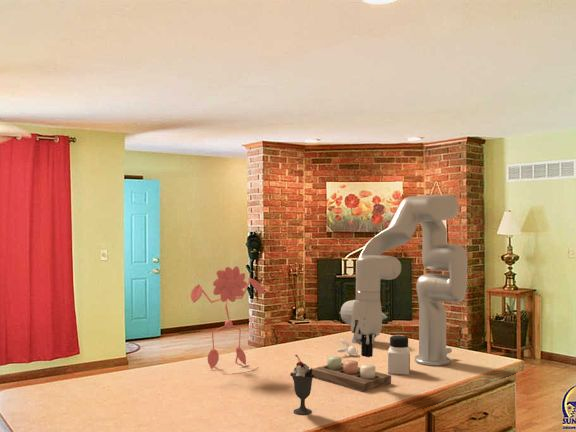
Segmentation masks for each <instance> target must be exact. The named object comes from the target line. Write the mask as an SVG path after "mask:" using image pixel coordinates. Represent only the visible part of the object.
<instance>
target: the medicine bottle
mask: <svg viewBox="0 0 576 432" xmlns="http://www.w3.org/2000/svg"><path fill="white" fill-rule="evenodd" d="M387 350H388V351H387V375H406V376H407V375H408V376H409V375H410V373H411V351H410V350H411V349H410V348H409V337H408V336H406V335H401V334H395V335H391V336H390V337H389V348H388V349H387Z"/></svg>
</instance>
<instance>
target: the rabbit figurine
mask: <svg viewBox="0 0 576 432" xmlns="http://www.w3.org/2000/svg"><path fill="white" fill-rule="evenodd" d="M340 342H341V344H342V345H343V346H345V347H343V348H338V349H337V350H336V351H337V352H338V353H345V352H346V354H345V355H344V356H346V355H348V356H352V355H354V356H355V357H358V355H359V354H358V353H359V351H358V349H357V348H355V346H353V345H350V343H349V342H347V341H346V340H345V339H343V338H340Z"/></svg>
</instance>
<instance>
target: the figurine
mask: <svg viewBox="0 0 576 432" xmlns="http://www.w3.org/2000/svg"><path fill="white" fill-rule="evenodd" d="M216 276H217V279H215V280H214V281H213V283H212V284H213V286H214V289H213V295H214V296H217V295H220V298H217V299H215V300H211V298H210V297H209V296H208V294H207V293H206V292H205V290H203V287H202V286H201V284H197V285H195V286H194V287H193V289H192V290H191V292H190V299H191V302H192V303H193V304H195V303H196V302H197V301H198V300H200V298H201V297H202V295H203V294H204V295H205V296H204V297H206V298H207V300H208V301H209V302H210V303H211V304H212V303H216V302H219V301H221V302H223V303H225V306H224V307H225V311H226V316H227V320H226V321H225V322H224V326H221V327H219V328H217V329H215V330H212V332H211V338H212V349H210V351H209V353H208V355H207V364H208V365H209V367H210V370H213V369H214V368H215V367H216V366H217V364H218V362H219V359H220V357H219V356H220V355H219V352H218V350H217V349H215V345H214V343H215V341H214V332H216V331H218V330H221V329H223V328H226V329H230V328H232V327H234V328H236V329H237V330H239V334H238V336H239V337H238V338H239V339H238V340H239V341H238V346H237V347H236V348H235V353H236V354H235V355H236V356H235V363H237V362H238V360H239V361H240V362H241V363H242V364H244V365H247V357H246V353H245V351H244V350H243V349H242V348H241V328H240V327H237V326H236V325H233V321H232V320H230V317H229V316H230V315H229V311H228V301H230V302H232V303H234V302H235V301H236V300H237V299H238V300H239V299H241V300H242V299H243V298H244V295H245V294H246V292H247V289H248V287H249V285H251V286H252V287H253V289H254V290H256V291H257V292H258V293H260V294H262V295H266V293H265V290H264V288H263V286H262V284H261V283H260V282H258V281H257V280H256V279H254V278H251V277H249V279H248V282H247V281H245V280H246V274H245V273H244V272H242V273H240V267H239V266H236V265H235V266H234V267H233V268H231V267H229V266H226V267H225V268H224V270H222V269H220V270H217V271H216ZM243 289H244V290H243ZM257 369H258V367H256V368H255V369H254V368H253V369H252V370H249V371H247V373H249V372H254V371H256V370H257ZM244 373H246V371H244V372H237V373H236V372H235V373H233V375H235V374H236V375H237V374H244Z"/></svg>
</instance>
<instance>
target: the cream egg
mask: <svg viewBox="0 0 576 432" xmlns="http://www.w3.org/2000/svg"><path fill="white" fill-rule="evenodd" d="M375 372H376V366H375V365H373V364H361V365H360V378H363V379H366V380H371V379H375Z"/></svg>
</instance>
